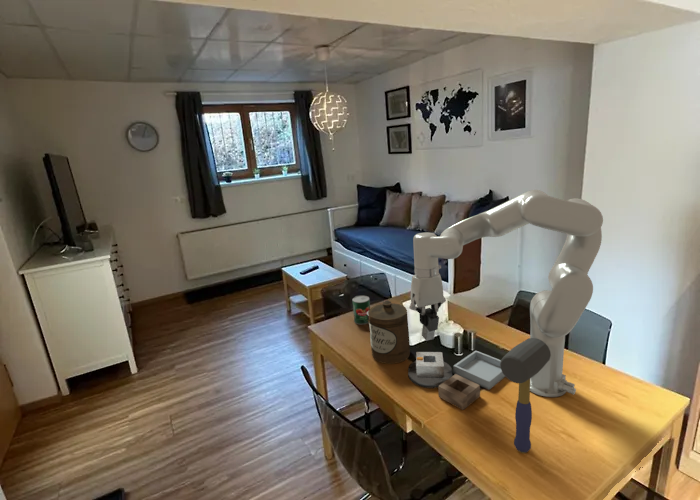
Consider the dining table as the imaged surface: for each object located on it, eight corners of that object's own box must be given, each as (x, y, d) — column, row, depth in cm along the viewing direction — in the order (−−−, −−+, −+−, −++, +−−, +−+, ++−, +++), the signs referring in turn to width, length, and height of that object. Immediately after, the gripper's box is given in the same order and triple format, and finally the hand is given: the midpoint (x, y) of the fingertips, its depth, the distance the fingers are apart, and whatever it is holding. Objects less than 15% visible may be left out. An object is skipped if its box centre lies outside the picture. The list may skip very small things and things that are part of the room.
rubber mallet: (520, 430, 106) (523, 331, 99) (548, 444, 101) (554, 341, 93) (495, 455, 99) (497, 350, 91) (524, 472, 93) (528, 362, 85)
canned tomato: (361, 326, 175) (360, 303, 172) (350, 321, 181) (348, 299, 178) (374, 320, 180) (373, 298, 177) (363, 315, 186) (361, 294, 183)
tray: (510, 372, 132) (511, 364, 132) (489, 389, 124) (489, 381, 123) (475, 357, 143) (475, 350, 142) (453, 373, 134) (453, 365, 134)
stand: (479, 396, 122) (480, 385, 120) (463, 410, 116) (462, 398, 115) (455, 384, 128) (455, 373, 127) (438, 396, 123) (438, 386, 122)
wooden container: (363, 354, 151) (359, 302, 145) (389, 340, 160) (386, 290, 155) (392, 368, 140) (388, 313, 134) (418, 352, 150) (415, 299, 144)
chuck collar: (442, 362, 137) (442, 351, 136) (444, 377, 129) (443, 365, 128) (416, 361, 139) (416, 350, 138) (416, 376, 131) (416, 365, 129)
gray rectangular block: (419, 332, 133) (422, 309, 129) (427, 330, 134) (430, 307, 130) (428, 343, 129) (431, 319, 124) (436, 341, 130) (439, 317, 125)
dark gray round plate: (461, 374, 133) (461, 369, 133) (433, 394, 124) (433, 388, 124) (427, 358, 145) (426, 353, 144) (399, 375, 136) (399, 370, 135)
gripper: (442, 263, 130) (443, 313, 135) (398, 272, 125) (401, 324, 130) (455, 269, 124) (456, 322, 128) (409, 279, 119) (412, 333, 123)
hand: (428, 322), depth 129 cm, fingers closed on gray rectangular block, 3 cm apart
